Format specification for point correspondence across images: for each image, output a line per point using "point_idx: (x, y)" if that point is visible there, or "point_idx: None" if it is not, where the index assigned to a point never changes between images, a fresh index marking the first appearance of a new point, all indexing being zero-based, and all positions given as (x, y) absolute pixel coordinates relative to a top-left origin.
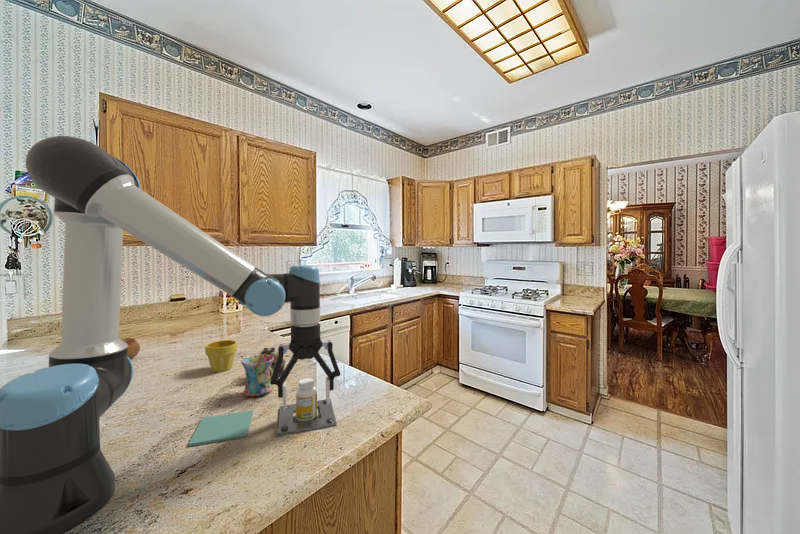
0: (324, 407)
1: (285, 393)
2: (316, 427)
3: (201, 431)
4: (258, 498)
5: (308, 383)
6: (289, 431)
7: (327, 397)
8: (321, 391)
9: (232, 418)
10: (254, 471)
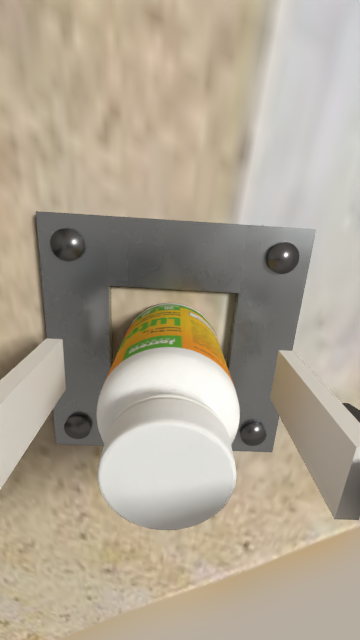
0: (259, 316)
1: (18, 459)
2: None
3: None
4: (46, 620)
5: (178, 526)
6: (98, 445)
7: (285, 421)
8: (299, 55)
9: None
10: (19, 557)
